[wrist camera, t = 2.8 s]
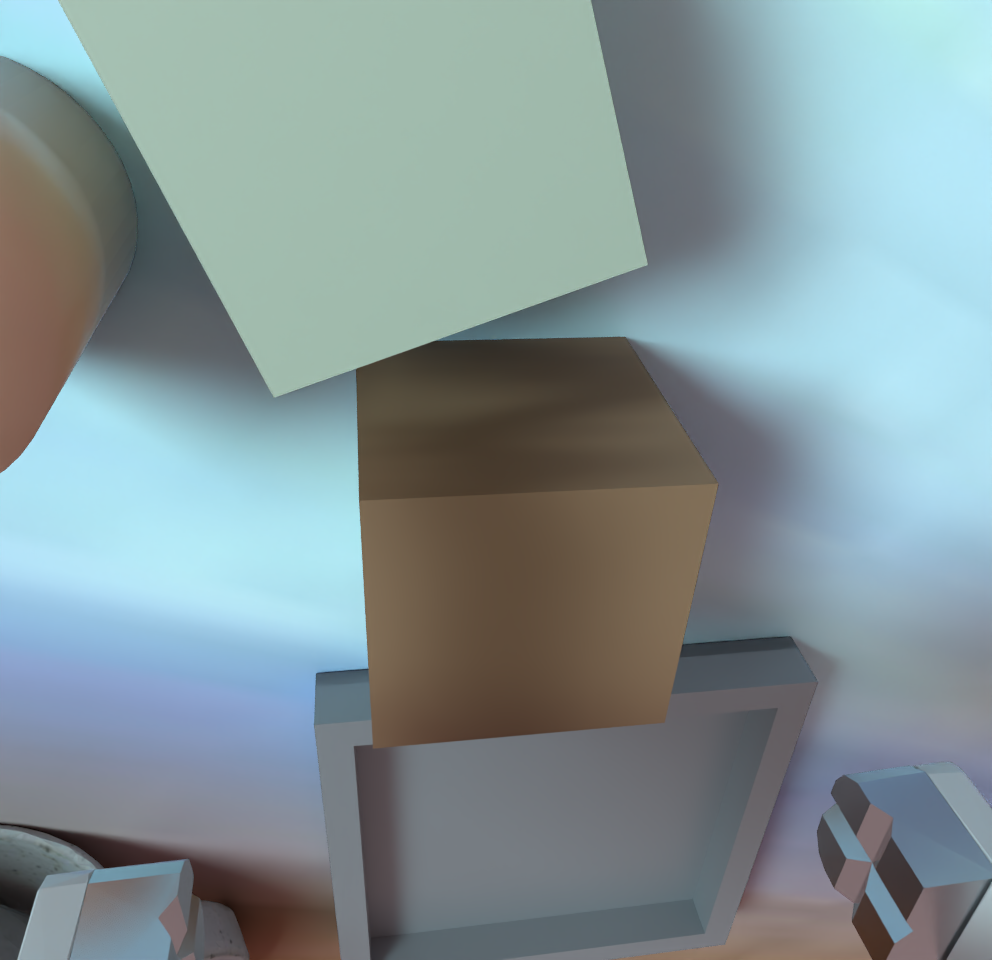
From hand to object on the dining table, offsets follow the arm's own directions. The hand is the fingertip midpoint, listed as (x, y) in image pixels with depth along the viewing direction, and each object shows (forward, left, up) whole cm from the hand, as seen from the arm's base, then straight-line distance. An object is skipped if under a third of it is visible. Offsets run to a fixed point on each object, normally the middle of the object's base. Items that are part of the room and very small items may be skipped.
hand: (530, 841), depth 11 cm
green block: (+1, -8, -8) cm, 11 cm away
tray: (-3, +11, -8) cm, 14 cm away
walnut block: (-1, -1, -8) cm, 8 cm away
